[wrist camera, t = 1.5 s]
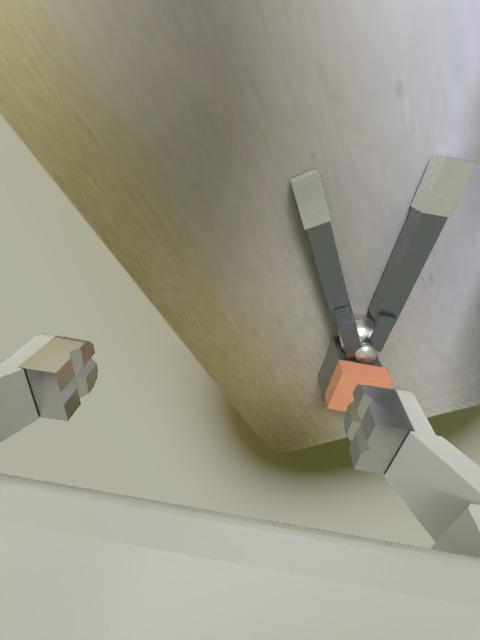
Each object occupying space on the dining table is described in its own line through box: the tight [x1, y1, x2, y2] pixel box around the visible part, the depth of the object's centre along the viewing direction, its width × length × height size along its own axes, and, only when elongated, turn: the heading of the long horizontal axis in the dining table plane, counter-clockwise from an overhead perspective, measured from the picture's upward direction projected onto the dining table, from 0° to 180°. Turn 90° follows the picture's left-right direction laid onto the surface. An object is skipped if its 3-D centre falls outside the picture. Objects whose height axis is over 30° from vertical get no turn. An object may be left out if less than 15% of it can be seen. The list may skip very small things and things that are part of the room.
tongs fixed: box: [318, 155, 477, 401], centre depth 30 cm, size 25×5×4 cm, turn 172°
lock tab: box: [325, 360, 393, 412], centre depth 31 cm, size 5×5×2 cm
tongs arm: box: [290, 169, 377, 363], centre depth 29 cm, size 18×3×4 cm, turn 22°
